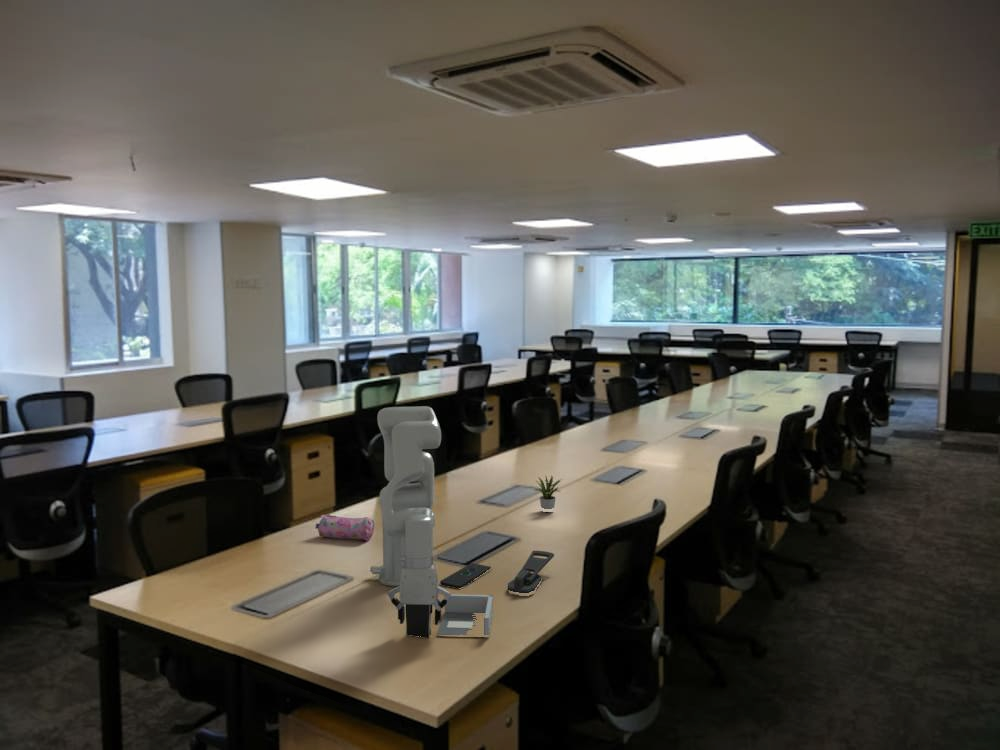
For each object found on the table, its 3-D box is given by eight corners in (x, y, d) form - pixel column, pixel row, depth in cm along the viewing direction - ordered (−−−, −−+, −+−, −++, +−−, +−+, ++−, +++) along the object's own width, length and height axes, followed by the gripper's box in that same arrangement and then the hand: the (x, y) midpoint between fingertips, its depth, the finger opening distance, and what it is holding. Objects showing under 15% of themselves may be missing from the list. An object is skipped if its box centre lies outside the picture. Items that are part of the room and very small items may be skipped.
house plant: (565, 517, 314) (566, 479, 313) (533, 516, 315) (533, 479, 313) (563, 508, 328) (564, 472, 327) (532, 507, 329) (533, 471, 327)
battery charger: (434, 633, 201) (433, 592, 200) (428, 639, 198) (428, 598, 196) (410, 630, 203) (410, 589, 202) (405, 635, 200) (404, 595, 199)
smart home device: (492, 566, 250) (460, 585, 233) (492, 571, 250) (460, 591, 233) (471, 562, 254) (438, 581, 237) (471, 567, 254) (438, 586, 237)
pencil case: (315, 540, 283) (314, 517, 282) (326, 533, 292) (326, 510, 291) (365, 544, 277) (365, 521, 276) (376, 537, 286) (375, 514, 285)
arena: (437, 636, 199) (437, 616, 199) (445, 612, 215) (445, 593, 214) (488, 638, 198) (488, 618, 198) (492, 613, 214) (492, 595, 214)
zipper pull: (556, 552, 248) (530, 577, 225) (556, 571, 249) (530, 598, 226) (531, 549, 252) (503, 573, 229) (531, 568, 252) (503, 593, 230)
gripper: (384, 565, 195) (385, 627, 197) (449, 566, 194) (449, 629, 196) (390, 555, 203) (391, 616, 204) (452, 557, 202) (452, 617, 203)
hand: (419, 622), depth 200 cm, fingers open, 9 cm apart
